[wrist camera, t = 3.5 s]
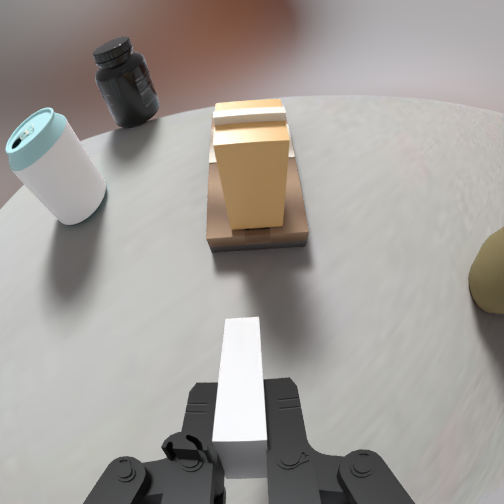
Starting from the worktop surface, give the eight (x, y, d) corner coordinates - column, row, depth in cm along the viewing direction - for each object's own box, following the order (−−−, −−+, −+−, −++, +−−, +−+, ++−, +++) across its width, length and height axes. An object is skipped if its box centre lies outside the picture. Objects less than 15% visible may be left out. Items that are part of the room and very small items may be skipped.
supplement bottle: (147, 95, 36) (126, 30, 26) (169, 109, 34) (147, 34, 23) (109, 119, 35) (80, 54, 24) (126, 136, 32) (93, 62, 22)
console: (304, 246, 24) (308, 231, 22) (211, 252, 25) (206, 238, 22) (283, 124, 31) (284, 107, 29) (215, 129, 31) (212, 112, 29)
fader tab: (281, 235, 24) (290, 131, 14) (233, 238, 24) (211, 137, 14) (277, 196, 25) (280, 91, 15) (232, 199, 25) (214, 95, 15)
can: (95, 229, 26) (30, 152, 16) (51, 227, 27) (-11, 163, 16) (116, 175, 29) (71, 95, 19) (73, 178, 30) (26, 111, 19)
